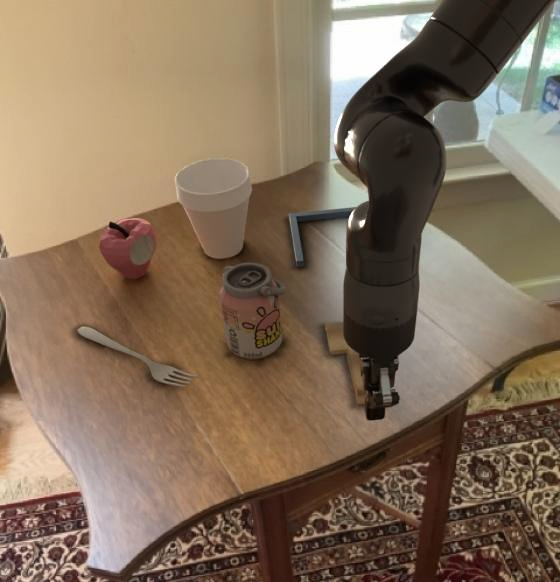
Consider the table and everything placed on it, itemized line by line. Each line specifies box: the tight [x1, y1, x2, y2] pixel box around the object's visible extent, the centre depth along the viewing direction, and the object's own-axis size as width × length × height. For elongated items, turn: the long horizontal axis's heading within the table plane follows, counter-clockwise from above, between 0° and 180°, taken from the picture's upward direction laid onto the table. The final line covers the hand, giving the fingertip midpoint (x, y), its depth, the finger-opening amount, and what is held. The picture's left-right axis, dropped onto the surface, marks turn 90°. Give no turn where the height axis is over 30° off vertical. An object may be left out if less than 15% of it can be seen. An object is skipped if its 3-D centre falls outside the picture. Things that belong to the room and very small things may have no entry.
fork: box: [77, 326, 199, 388], centre depth 95 cm, size 3×24×2 cm, turn 53°
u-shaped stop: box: [288, 206, 357, 268], centre depth 114 cm, size 15×12×1 cm
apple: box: [98, 217, 158, 280], centre depth 108 cm, size 10×9×10 cm
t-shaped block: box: [324, 321, 365, 405], centre depth 91 cm, size 16×7×3 cm, turn 4°
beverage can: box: [218, 262, 287, 361], centre depth 92 cm, size 9×8×12 cm
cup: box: [174, 157, 253, 260], centre depth 110 cm, size 12×12×14 cm
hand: (374, 415), depth 79 cm, fingers closed
